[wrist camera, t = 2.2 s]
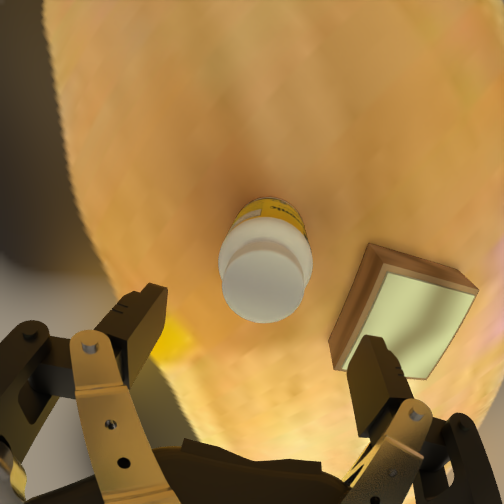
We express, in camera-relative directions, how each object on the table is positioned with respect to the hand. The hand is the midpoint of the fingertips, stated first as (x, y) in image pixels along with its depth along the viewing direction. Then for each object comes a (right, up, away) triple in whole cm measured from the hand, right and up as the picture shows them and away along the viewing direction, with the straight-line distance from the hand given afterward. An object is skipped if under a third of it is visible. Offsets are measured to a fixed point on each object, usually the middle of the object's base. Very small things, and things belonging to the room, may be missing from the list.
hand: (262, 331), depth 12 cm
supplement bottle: (+1, +5, +12) cm, 13 cm away
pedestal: (+13, -2, +13) cm, 19 cm away
